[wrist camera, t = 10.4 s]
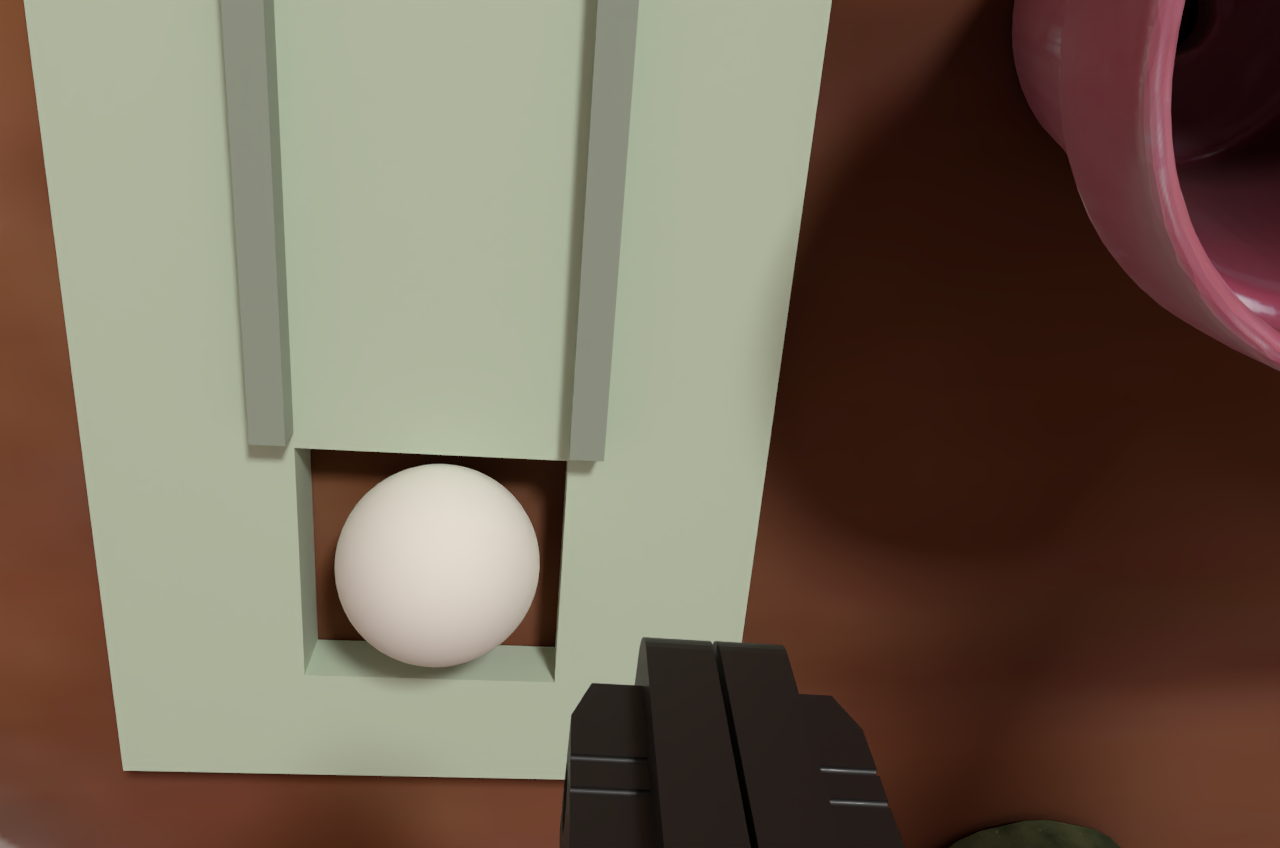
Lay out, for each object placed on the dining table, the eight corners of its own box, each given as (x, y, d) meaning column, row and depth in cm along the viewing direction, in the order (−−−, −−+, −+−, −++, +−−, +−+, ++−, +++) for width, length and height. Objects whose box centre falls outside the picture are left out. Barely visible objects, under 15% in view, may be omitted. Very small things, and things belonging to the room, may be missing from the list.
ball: (346, 683, 33) (342, 496, 35) (539, 666, 35) (525, 485, 36) (325, 666, 28) (321, 444, 30) (556, 646, 29) (539, 433, 31)
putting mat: (14, -384, 25) (-55, -427, 22) (853, -288, 27) (887, -318, 24) (145, 731, 37) (111, 791, 34) (714, 744, 39) (726, 803, 36)
